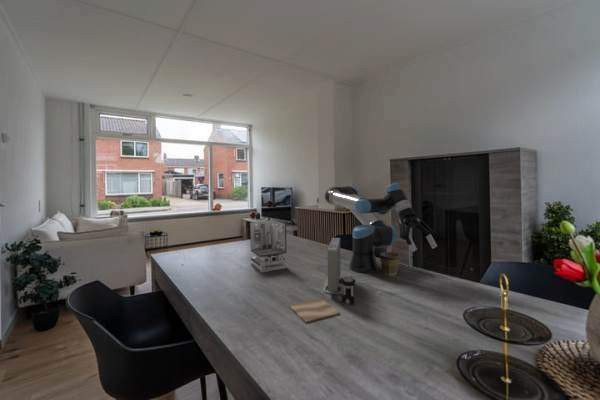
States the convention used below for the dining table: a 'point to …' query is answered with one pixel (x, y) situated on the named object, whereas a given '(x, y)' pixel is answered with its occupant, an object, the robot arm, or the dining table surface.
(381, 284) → the dining table surface
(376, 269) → the robot arm
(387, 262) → the ceramic cup
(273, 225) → the analytical balance
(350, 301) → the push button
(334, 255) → the network device
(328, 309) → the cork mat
